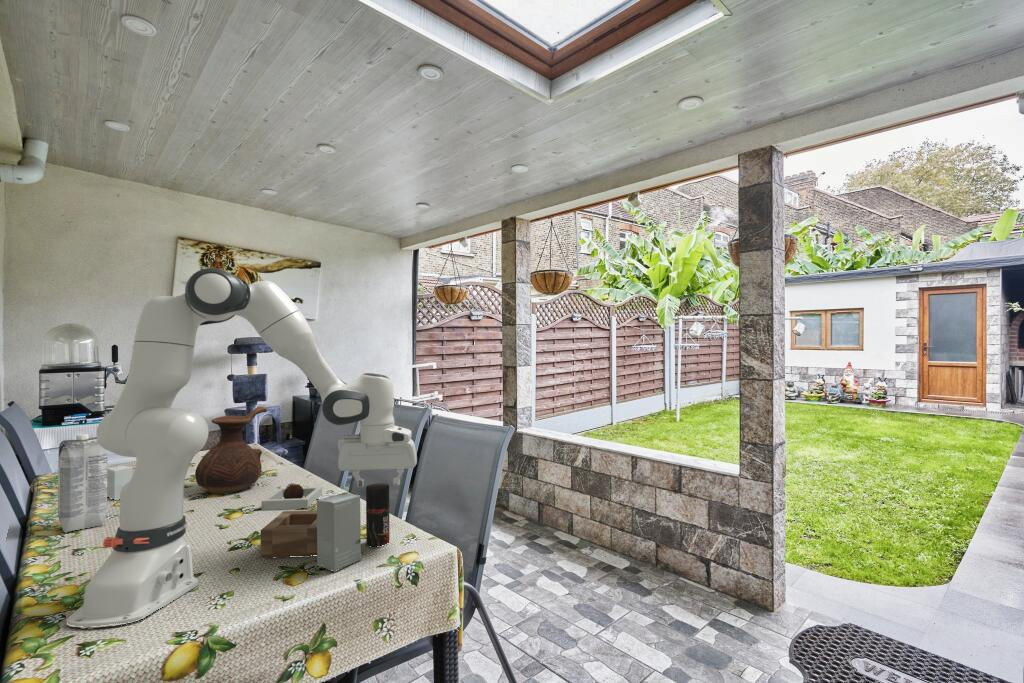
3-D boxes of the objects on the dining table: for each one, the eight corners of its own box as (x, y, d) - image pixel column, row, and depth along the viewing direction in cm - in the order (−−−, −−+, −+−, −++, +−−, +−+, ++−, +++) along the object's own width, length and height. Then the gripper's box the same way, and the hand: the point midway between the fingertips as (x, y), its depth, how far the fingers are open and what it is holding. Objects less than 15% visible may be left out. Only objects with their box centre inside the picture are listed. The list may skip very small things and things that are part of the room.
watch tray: (307, 508, 155) (307, 499, 155) (261, 510, 154) (261, 501, 154) (322, 495, 170) (322, 486, 170) (280, 496, 169) (280, 488, 169)
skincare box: (334, 573, 109) (333, 504, 110) (314, 566, 113) (314, 499, 114) (363, 559, 117) (363, 494, 117) (343, 553, 120) (343, 490, 121)
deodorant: (383, 548, 123) (382, 489, 124) (362, 546, 124) (361, 488, 125) (393, 539, 129) (393, 483, 129) (373, 538, 130) (372, 482, 130)
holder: (318, 556, 119) (318, 528, 119) (260, 558, 118) (260, 530, 118) (335, 534, 133) (335, 509, 133) (283, 536, 132) (283, 511, 132)
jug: (242, 498, 168) (242, 412, 168) (181, 498, 168) (181, 413, 169) (273, 481, 190) (273, 405, 190) (219, 481, 190) (219, 405, 190)
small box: (133, 497, 171) (133, 467, 171) (114, 501, 166) (114, 470, 166) (124, 493, 175) (124, 464, 175) (105, 497, 170) (105, 468, 170)
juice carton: (108, 525, 142) (108, 434, 143) (59, 535, 134) (60, 439, 135) (103, 518, 148) (104, 431, 149) (57, 528, 140) (57, 435, 141)
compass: (300, 498, 166) (300, 477, 166) (304, 505, 160) (303, 483, 160) (275, 502, 162) (275, 481, 162) (277, 509, 155) (277, 486, 156)
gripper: (334, 437, 124) (335, 491, 124) (414, 434, 125) (415, 487, 125) (340, 432, 130) (341, 483, 130) (417, 430, 131) (418, 480, 131)
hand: (378, 485), depth 128 cm, fingers open, 8 cm apart
